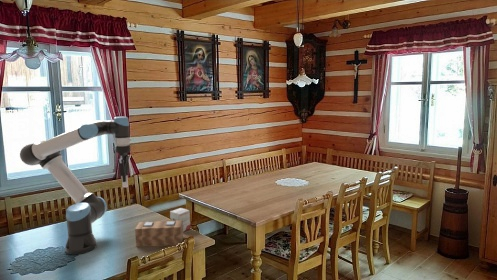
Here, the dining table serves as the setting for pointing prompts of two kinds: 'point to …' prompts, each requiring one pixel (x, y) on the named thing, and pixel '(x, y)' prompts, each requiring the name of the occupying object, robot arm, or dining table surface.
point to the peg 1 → (148, 224)
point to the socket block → (159, 234)
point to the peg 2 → (170, 223)
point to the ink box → (181, 217)
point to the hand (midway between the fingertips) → (125, 187)
